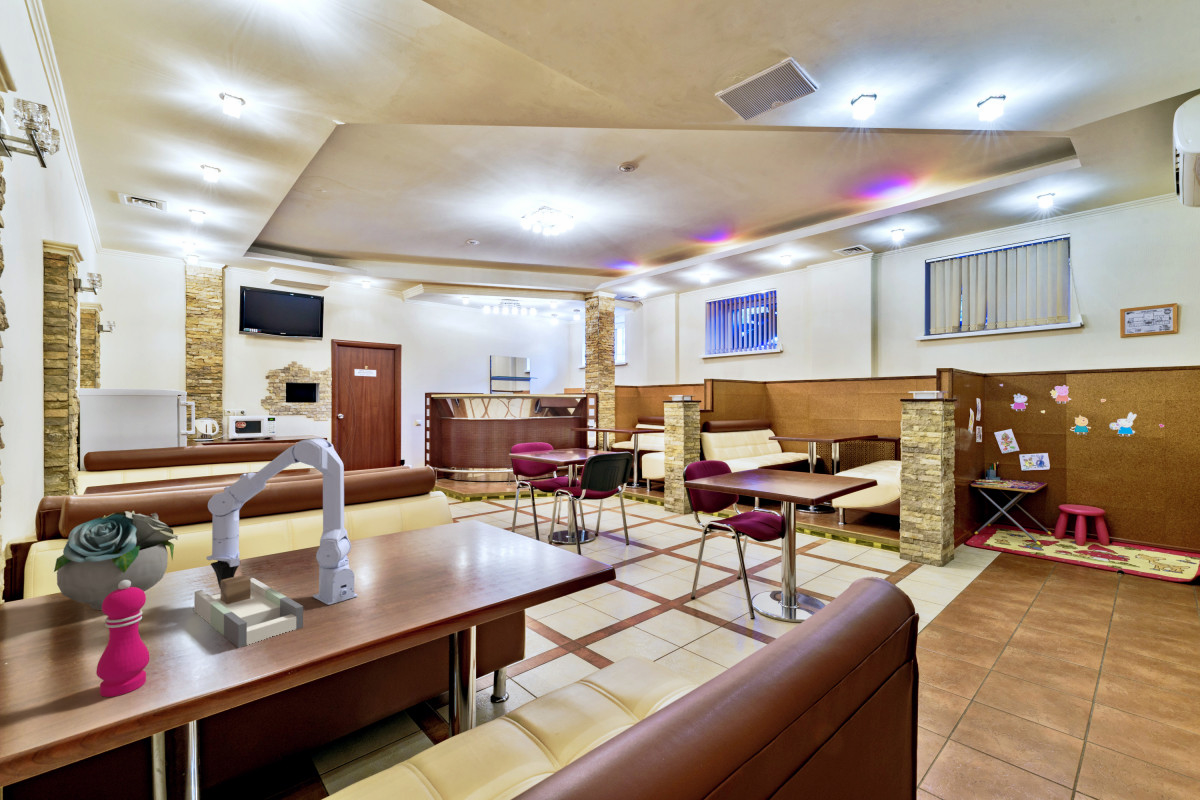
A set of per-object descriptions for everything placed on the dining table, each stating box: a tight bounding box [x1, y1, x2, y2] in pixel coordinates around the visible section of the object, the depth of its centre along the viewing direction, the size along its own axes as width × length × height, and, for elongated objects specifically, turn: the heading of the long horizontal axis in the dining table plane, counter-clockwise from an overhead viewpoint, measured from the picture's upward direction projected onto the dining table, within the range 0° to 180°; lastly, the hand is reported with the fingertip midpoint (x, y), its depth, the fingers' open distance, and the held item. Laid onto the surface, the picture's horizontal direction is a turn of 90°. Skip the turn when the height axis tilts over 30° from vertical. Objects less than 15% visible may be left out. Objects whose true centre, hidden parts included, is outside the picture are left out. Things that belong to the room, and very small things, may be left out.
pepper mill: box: [95, 580, 150, 698], centre depth 94 cm, size 7×7×20 cm
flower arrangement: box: [53, 510, 179, 611], centre depth 133 cm, size 25×25×24 cm
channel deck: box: [193, 577, 304, 649], centre depth 124 cm, size 32×13×5 cm, turn 52°
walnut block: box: [220, 574, 251, 604], centre depth 129 cm, size 5×5×5 cm
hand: (225, 588), depth 134 cm, fingers closed
